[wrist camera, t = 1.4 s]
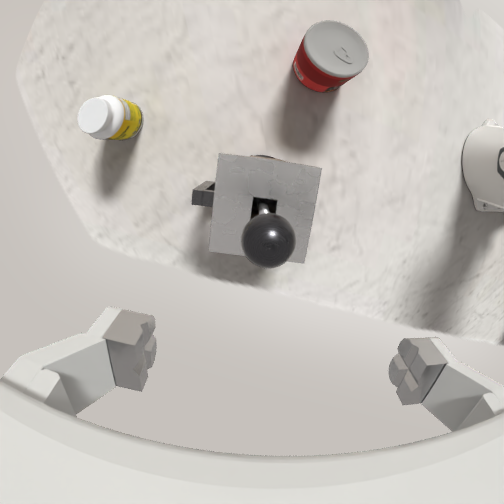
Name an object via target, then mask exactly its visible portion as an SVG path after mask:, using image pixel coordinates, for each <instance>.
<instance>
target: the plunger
mask: <svg viewBox="0 0 504 504" xmlns="http://www.w3.org/2000/svg"><path fill="white" fill-rule="evenodd" d="M276 202H277V200H275V199H268V198H260V197H253V202H252V209H251V217H250V218H251V220H250V221H249V222H248V223H247V224H246V225H245V227H244V229H243V232H242V235H241V246H242V250H243V252H244V254H245V256H246V257H247V258H248V260H249V261H251V262H252V263H253V264H255V265H257V266H259V267H262V268H275V267H278V266H280V265H282V264H284V263H285V262H287V261H288V260H289V259H290V257H291V256H292V254H293V252H294V250H295V246H296V235H295V231H294V229H293V227H292V225H291V224H290V223H289V222H288V221H287V220H286V219H285V218H284V217H282V216H280V215H277V214H275V209H276Z"/></svg>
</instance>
